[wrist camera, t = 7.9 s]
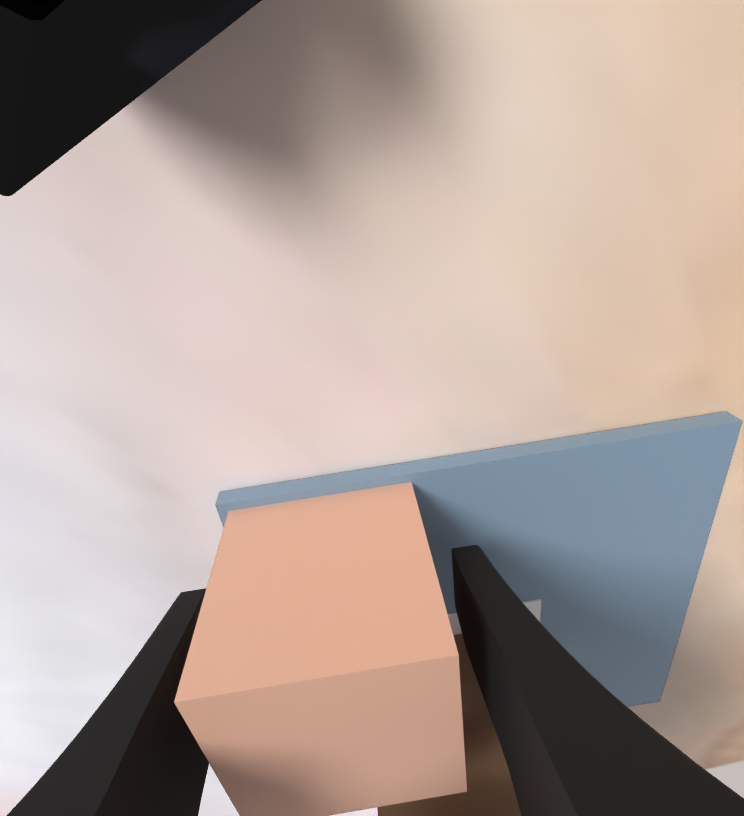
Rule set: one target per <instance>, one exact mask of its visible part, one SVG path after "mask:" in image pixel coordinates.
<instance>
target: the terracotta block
mask: <svg viewBox="0 0 744 816" xmlns="http://www.w3.org/2000/svg"><path fill="white" fill-rule="evenodd" d="M174 703H175V705H176V707H177V708H178V710H179V712H180V713H181V715H182V717H183V719H184V720H185V722H186V724H187V726H188V727H189V729H190V731H191V732H192V734H193V736H194V738H195V739H196V741H197V743H198V745H199V746H200V748H201V750H202V751H203V753H204V755H205V757H206V758H207V760H208V762H209V763H210V765H211V767H212V769H213V770H214V772H215V774H216V776H217V777H218V779H219V781H220V782H221V784H222V786H223V788H224V789H225V791H226V793H227V794H228V796H229V798H230V800H231V801H232V803H233V805H234V807H235V808H236V810H237V812H238V813H239V815H240V816H329V815H334V814H340V813H346V812H352V811H358V810H363V809H369V808H375V807H381V806H387V805H393V804H398V803H404V802H410V801H416V800H422V799H427V798H433V797H439V796H445V795H451V794H456V793H462V792H467V782H466V766H465V750H464V734H463V717H462V701H461V685H460V669H459V654H458V651H457V647H456V643H455V640H454V636H453V632H452V629H451V625H450V621H449V618H448V614H447V610H446V607H445V603H444V599H443V596H442V592H441V588H440V585H439V581H438V577H437V574H436V570H435V566H434V563H433V559H432V555H431V552H430V548H429V544H428V541H427V537H426V533H425V530H424V526H423V522H422V519H421V515H420V511H419V508H418V504H417V500H416V497H415V493H414V489H413V486H412V482H408V483H402V484H396V485H389V486H383V487H377V488H370V489H364V490H358V491H352V492H345V493H339V494H333V495H327V496H320V497H314V498H308V499H301V500H295V501H289V502H283V503H276V504H270V505H264V506H258V507H251V508H245V509H239V510H232V511H228V515H227V518H226V522H225V525H224V529H223V532H222V536H221V539H220V543H219V546H218V550H217V553H216V557H215V560H214V564H213V567H212V571H211V574H210V578H209V581H208V585H207V588H206V592H205V595H204V599H203V602H202V606H201V609H200V613H199V616H198V620H197V623H196V627H195V630H194V634H193V637H192V641H191V644H190V648H189V651H188V655H187V658H186V662H185V665H184V669H183V672H182V676H181V679H180V683H179V686H178V690H177V693H176V697H175V700H174Z"/></svg>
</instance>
